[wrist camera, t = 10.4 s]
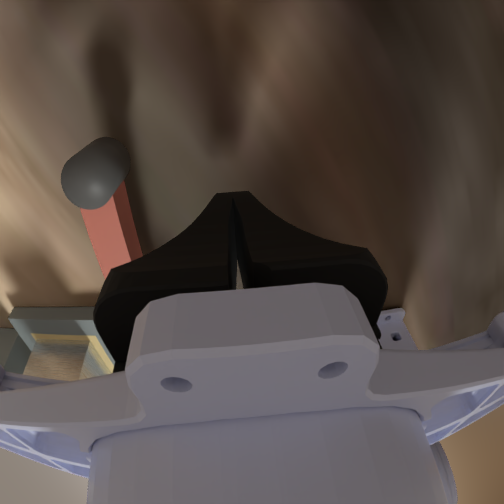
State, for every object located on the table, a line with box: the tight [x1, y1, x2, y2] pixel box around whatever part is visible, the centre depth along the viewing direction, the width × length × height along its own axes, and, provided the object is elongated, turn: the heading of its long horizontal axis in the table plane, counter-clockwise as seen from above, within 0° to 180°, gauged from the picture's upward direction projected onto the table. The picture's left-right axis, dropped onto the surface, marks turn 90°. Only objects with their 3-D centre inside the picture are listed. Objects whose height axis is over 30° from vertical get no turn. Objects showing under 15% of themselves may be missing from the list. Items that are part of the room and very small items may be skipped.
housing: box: [23, 338, 111, 381], centre depth 16 cm, size 5×5×6 cm
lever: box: [61, 137, 143, 280], centre depth 13 cm, size 3×14×2 cm, turn 2°
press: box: [0, 307, 115, 374], centre depth 16 cm, size 18×10×9 cm, turn 92°
